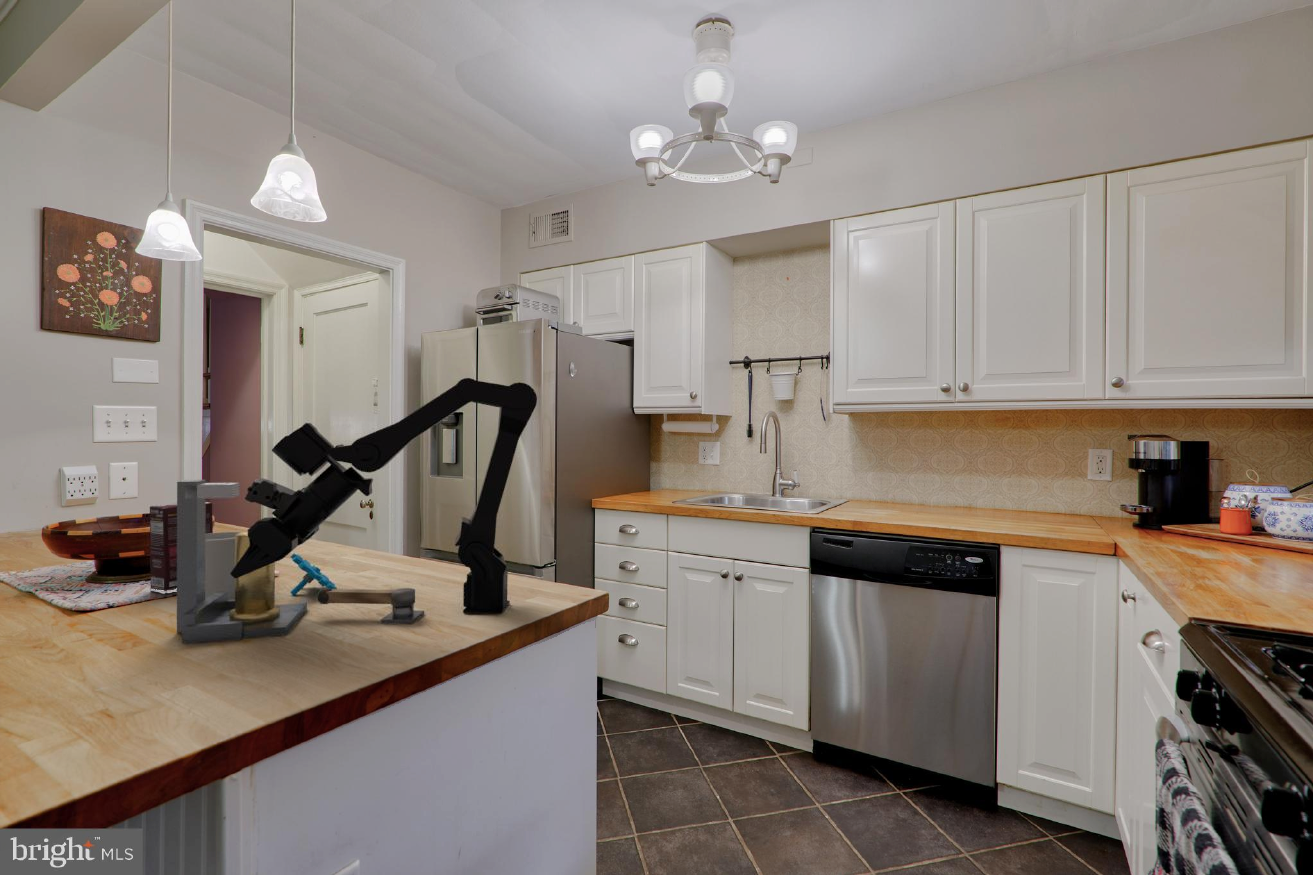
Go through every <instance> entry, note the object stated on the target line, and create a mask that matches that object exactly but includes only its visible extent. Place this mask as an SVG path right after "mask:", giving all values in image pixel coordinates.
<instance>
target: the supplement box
mask: <svg viewBox="0 0 1313 875" xmlns="http://www.w3.org/2000/svg"><path fill="white" fill-rule="evenodd" d="M213 518H214V517H213V502H210V501H206V508H205V534H209V533H214V530H213V524H214V523H213V522H214V521H213ZM149 545H150V546H149V551H150V553H149V554H150V555H149V559H150V567H149V568H150V570H149V571H150V572H149V573H150V578H149V579H150V590H151V589H155V590H156V589H157V590H164V591H167V590H174V589H176V588H177V503H171V504H161V505H151V506H149Z"/></svg>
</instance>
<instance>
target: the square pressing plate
mask: <svg viewBox="0 0 1313 875" xmlns="http://www.w3.org/2000/svg"><path fill="white" fill-rule="evenodd" d="M391 606H392V605H391ZM414 607H415V603H414V604H412V605H409V606H401V607H398V606H392V608H391V609H392V610H391V612H390V613H388V614H386V615H385V616H383V618H381V619H380V624H398V625H399V624H400V625H401V624H403V625H404V624H406V625H411V624H414V623H415V622H417V621H418V620H419V619H420V618H422V617H423V616H424V615H425V610H414Z"/></svg>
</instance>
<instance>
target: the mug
mask: <svg viewBox="0 0 1313 875" xmlns="http://www.w3.org/2000/svg"><path fill="white" fill-rule="evenodd" d="M238 533H243V532H242V531H241V532H240V531H224V532H222V531H221V532H219V531H218V532H213V533H209V534H205V599H206V598H208V597H209V596H211V595H212V594H214V593H215V592H217V591H228V600H229V599H235V578H234V577H233V576H231V574H230V573H231V572H232V570H233V569H234V567H235V535H236V534H238Z"/></svg>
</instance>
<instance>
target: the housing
mask: <svg viewBox="0 0 1313 875" xmlns="http://www.w3.org/2000/svg"><path fill="white" fill-rule="evenodd" d="M247 534H248V531H244V532H243V533H238V534H236V535H235V566H236V564H237V563H238V562H239V560H240V559H241V557H242V556H243V555H244V553H245V552H246V550H247V549H248V547H249V545H250V543H249V538H248V536H247ZM275 571H276V562H274V563H272V564H269V565H267V566H264V567H262V568H260V569H257V570H255V571H253V572H250V573H248V574H246V575H243V576H241V577H239V578H235V609H233V610H231V611H230V612H229V621H245V624H249V623H257V622H263V621H267V620H271V619H274V618H276V617H278V616H279V615H280V606H279V605H280V604H276V597H275V596H276V594H275V592H276V590H275V589H276V586H275V585H276V582H275V580H276V572H275Z"/></svg>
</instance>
